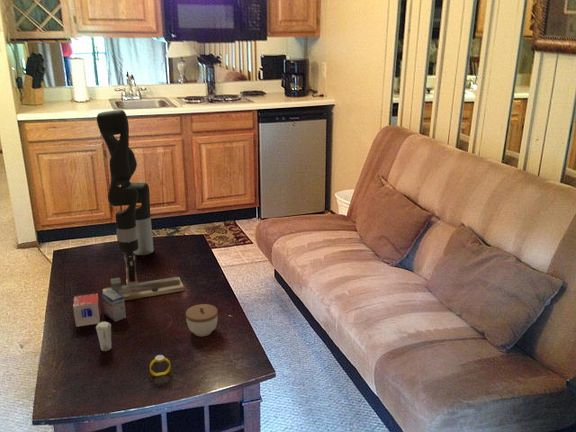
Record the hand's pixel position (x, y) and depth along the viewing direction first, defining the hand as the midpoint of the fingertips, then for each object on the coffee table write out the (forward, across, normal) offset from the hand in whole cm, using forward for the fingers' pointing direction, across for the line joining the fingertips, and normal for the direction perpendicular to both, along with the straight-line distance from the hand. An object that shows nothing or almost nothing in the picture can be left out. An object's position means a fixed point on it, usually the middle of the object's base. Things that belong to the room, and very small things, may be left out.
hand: (131, 278), depth 202 cm
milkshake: (+6, +37, -12) cm, 39 cm away
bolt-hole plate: (+6, 0, +4) cm, 7 cm away
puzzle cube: (+6, +15, -17) cm, 24 cm away
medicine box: (+6, +16, -8) cm, 19 cm away
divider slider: (+4, 0, 0) cm, 4 cm away
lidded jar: (+6, +38, +19) cm, 43 cm away
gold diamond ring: (+6, +57, +2) cm, 57 cm away
